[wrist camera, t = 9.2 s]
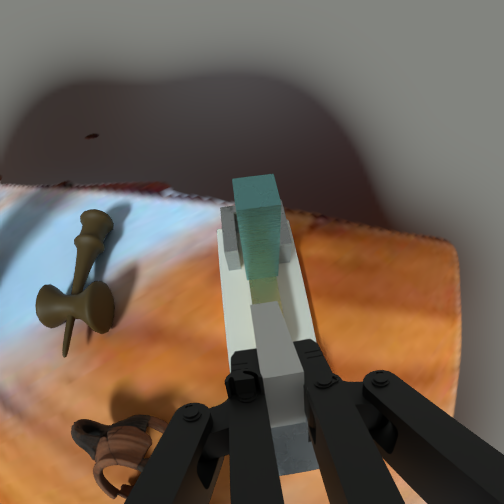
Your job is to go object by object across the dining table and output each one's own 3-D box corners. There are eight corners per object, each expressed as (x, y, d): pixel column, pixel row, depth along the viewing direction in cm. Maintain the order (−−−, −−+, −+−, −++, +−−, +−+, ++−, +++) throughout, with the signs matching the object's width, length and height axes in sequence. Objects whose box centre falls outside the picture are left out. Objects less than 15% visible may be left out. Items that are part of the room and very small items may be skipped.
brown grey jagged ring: (199, 425, 26) (189, 473, 18) (179, 480, 26) (168, 527, 17) (93, 382, 26) (55, 415, 17) (85, 443, 25) (56, 479, 17)
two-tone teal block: (290, 357, 28) (306, 312, 16) (258, 362, 28) (250, 320, 16) (269, 240, 35) (267, 151, 24) (242, 243, 35) (229, 156, 24)
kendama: (134, 227, 40) (110, 367, 29) (82, 233, 40) (52, 359, 29) (118, 199, 35) (81, 353, 24) (63, 209, 35) (21, 344, 24)
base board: (335, 459, 23) (337, 461, 22) (244, 474, 23) (243, 476, 22) (288, 224, 38) (288, 219, 37) (217, 234, 38) (216, 229, 37)
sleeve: (316, 461, 22) (323, 467, 19) (264, 470, 22) (263, 477, 19) (304, 386, 26) (309, 382, 23) (253, 394, 26) (251, 391, 23)
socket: (289, 262, 34) (292, 243, 30) (228, 270, 34) (224, 252, 30) (280, 220, 37) (281, 199, 33) (224, 228, 37) (220, 207, 33)
